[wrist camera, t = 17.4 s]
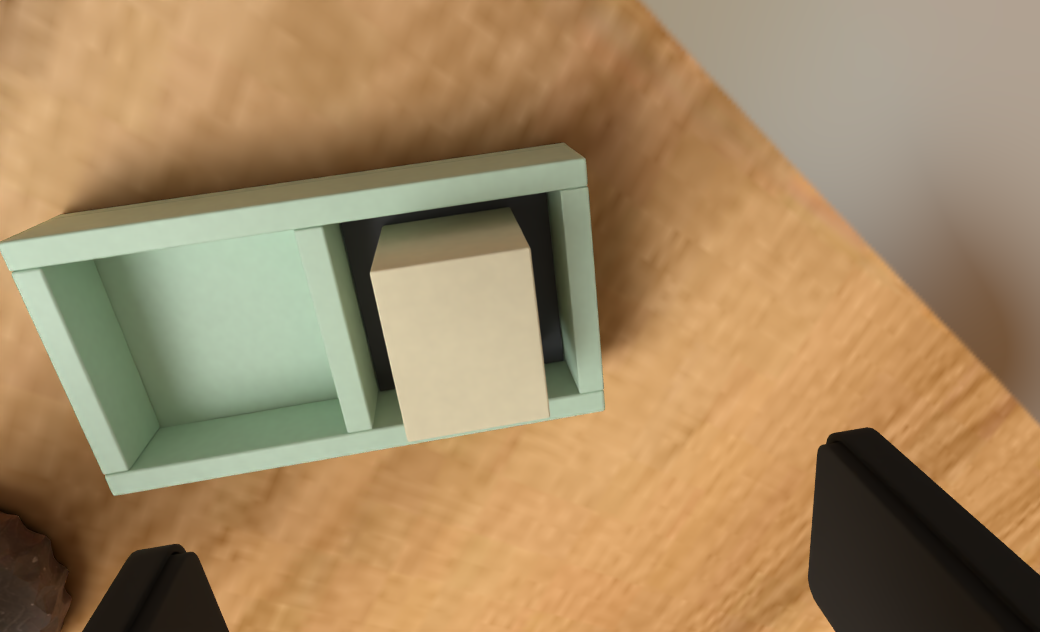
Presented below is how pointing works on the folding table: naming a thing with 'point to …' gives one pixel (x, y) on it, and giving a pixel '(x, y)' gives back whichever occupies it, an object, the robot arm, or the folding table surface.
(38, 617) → the figurine
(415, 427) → the beige block
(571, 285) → the pad tray
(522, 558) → the folding table surface
